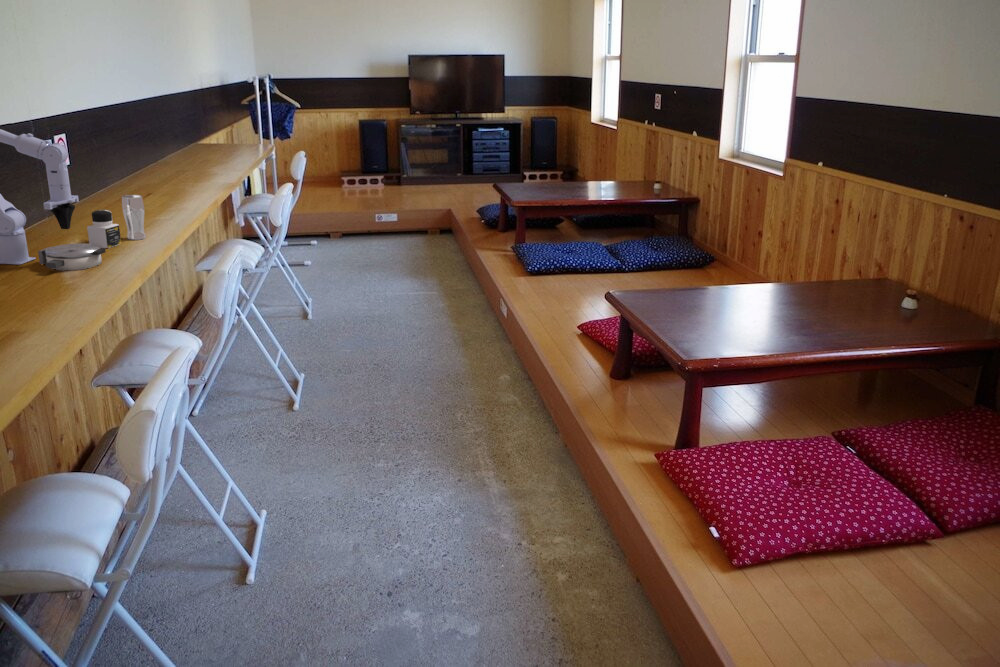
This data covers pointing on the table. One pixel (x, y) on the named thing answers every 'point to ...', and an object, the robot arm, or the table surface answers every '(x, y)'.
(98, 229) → the medicine bottle
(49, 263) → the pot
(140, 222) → the beer glass
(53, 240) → the table surface
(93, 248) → the lid
